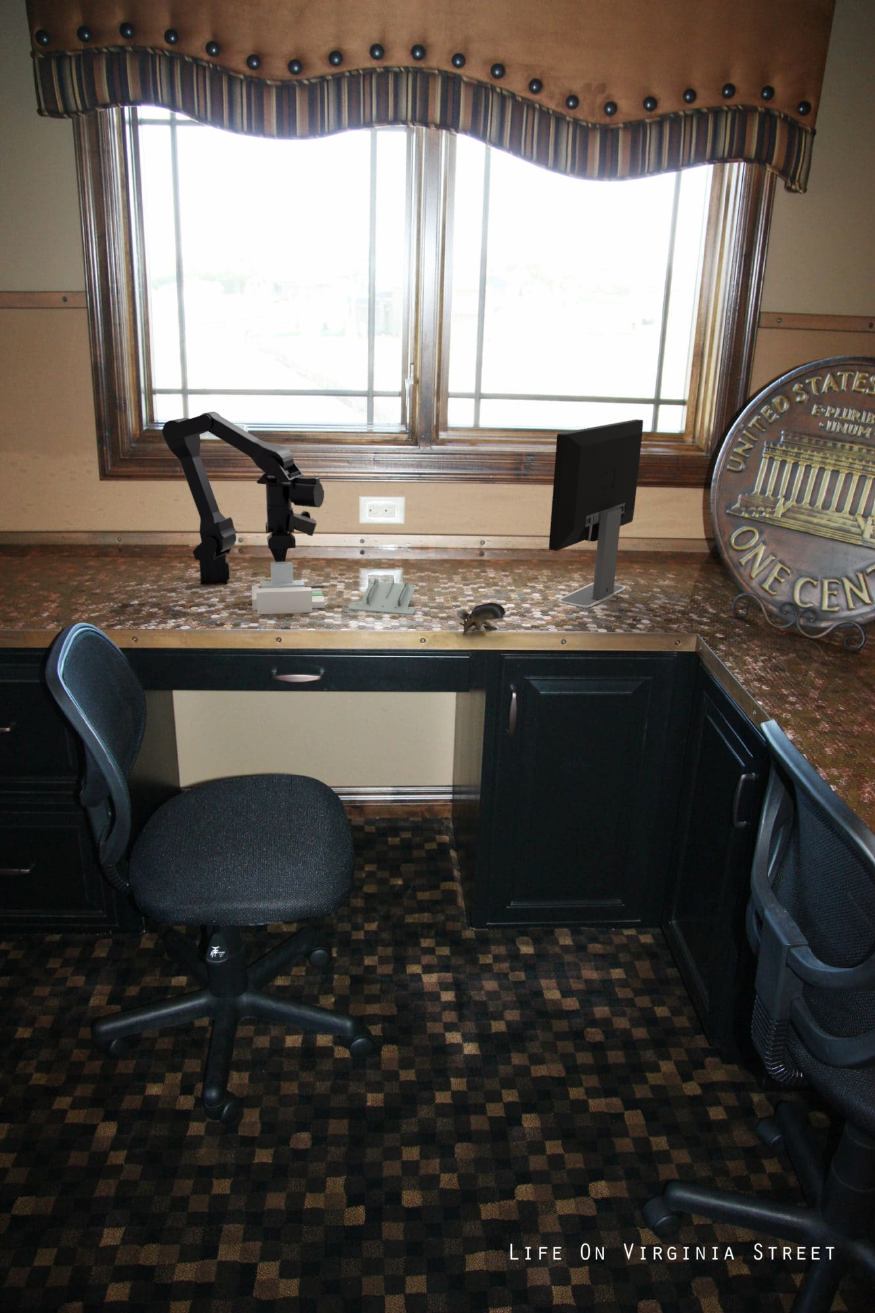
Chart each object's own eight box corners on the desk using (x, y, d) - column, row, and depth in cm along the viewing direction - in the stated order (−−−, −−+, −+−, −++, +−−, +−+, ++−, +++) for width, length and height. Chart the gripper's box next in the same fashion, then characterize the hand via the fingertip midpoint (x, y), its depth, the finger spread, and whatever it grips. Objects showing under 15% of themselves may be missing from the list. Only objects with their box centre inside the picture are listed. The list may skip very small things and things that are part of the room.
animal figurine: (481, 636, 188) (512, 621, 193) (465, 605, 188) (497, 590, 193) (462, 646, 195) (493, 630, 199) (447, 616, 195) (478, 601, 199)
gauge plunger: (261, 598, 210) (259, 566, 208) (260, 593, 214) (259, 562, 211) (324, 596, 213) (323, 565, 210) (323, 591, 217) (322, 560, 214)
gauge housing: (252, 614, 201) (251, 592, 199) (252, 595, 214) (251, 575, 212) (325, 611, 204) (325, 590, 202) (320, 593, 217) (320, 573, 215)
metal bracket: (362, 572, 215) (424, 577, 213) (364, 593, 219) (425, 598, 216) (346, 605, 204) (411, 611, 201) (348, 627, 207) (412, 632, 205)
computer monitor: (612, 574, 240) (628, 418, 226) (642, 580, 236) (660, 421, 221) (535, 611, 209) (547, 432, 194) (568, 619, 204) (583, 436, 190)
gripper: (317, 511, 205) (318, 578, 210) (310, 495, 222) (312, 558, 227) (266, 512, 203) (269, 580, 208) (264, 496, 220) (266, 559, 225)
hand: (281, 569), depth 217 cm, fingers closed
